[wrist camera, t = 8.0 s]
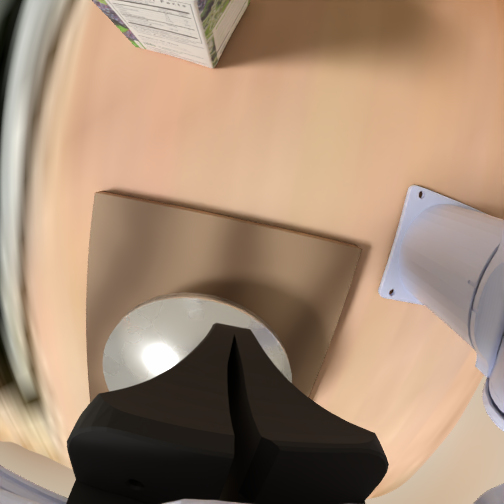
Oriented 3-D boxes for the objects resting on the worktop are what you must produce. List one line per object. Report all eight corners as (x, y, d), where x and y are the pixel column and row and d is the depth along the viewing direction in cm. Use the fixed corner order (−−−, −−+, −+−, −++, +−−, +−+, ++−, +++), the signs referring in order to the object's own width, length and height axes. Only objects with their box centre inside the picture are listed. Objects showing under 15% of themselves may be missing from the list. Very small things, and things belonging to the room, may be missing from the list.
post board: (356, 245, 21) (388, 270, 16) (278, 452, 26) (283, 496, 21) (101, 191, 19) (61, 200, 14) (96, 416, 24) (77, 455, 19)
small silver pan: (151, 248, 19) (132, 266, 15) (320, 332, 21) (334, 362, 17) (88, 414, 22) (73, 442, 19) (214, 467, 24) (211, 497, 21)
